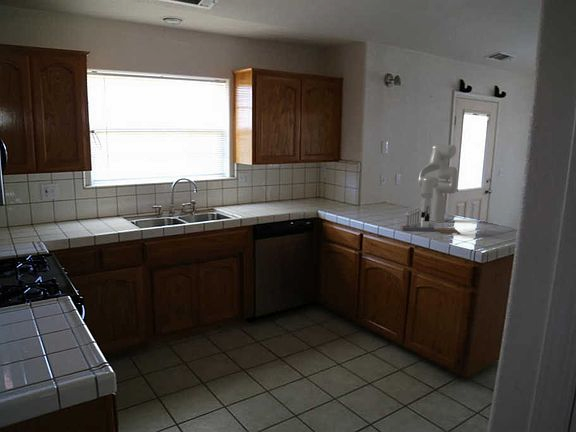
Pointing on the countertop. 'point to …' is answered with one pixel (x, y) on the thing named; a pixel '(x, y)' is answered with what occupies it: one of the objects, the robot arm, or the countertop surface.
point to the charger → (424, 222)
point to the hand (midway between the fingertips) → (425, 219)
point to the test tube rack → (412, 216)
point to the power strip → (416, 228)
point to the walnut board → (448, 230)
